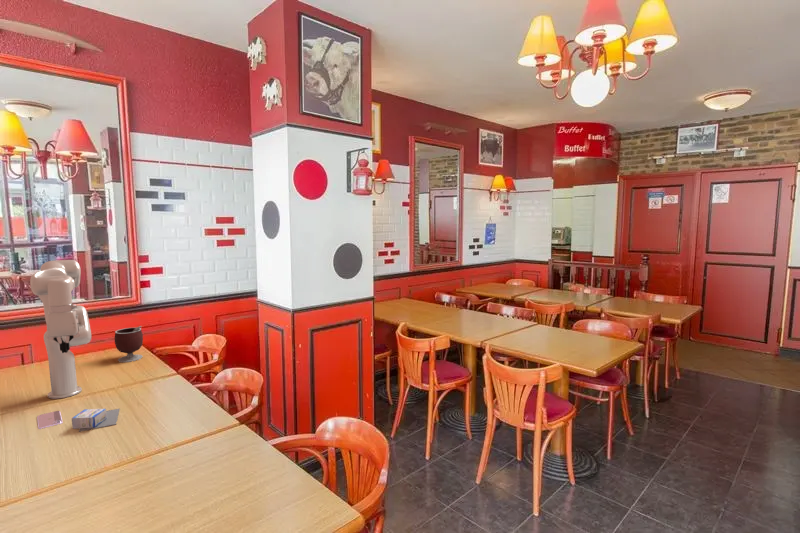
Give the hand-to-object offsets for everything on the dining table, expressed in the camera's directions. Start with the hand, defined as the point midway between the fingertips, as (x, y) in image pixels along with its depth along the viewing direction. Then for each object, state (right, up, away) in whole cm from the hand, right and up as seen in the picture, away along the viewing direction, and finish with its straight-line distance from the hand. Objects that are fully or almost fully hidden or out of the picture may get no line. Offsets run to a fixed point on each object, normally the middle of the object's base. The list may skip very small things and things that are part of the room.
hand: (65, 351), depth 179 cm
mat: (+17, -27, -3) cm, 32 cm away
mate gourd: (-17, -19, +72) cm, 77 cm away
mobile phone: (-4, -28, -3) cm, 28 cm away
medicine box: (+11, -25, -8) cm, 29 cm away
